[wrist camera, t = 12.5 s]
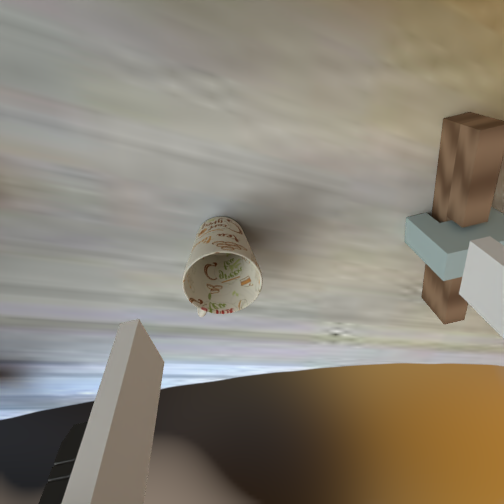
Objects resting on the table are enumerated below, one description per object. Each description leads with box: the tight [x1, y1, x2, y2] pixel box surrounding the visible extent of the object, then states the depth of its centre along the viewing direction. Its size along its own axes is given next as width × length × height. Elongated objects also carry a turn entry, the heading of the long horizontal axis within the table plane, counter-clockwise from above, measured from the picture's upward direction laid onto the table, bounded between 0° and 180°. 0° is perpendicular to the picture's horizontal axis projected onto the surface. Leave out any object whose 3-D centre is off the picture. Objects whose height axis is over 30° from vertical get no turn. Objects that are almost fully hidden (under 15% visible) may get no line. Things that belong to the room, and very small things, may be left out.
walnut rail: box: [422, 112, 504, 324], centre depth 41 cm, size 28×3×6 cm, turn 12°
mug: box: [183, 217, 262, 317], centre depth 38 cm, size 8×13×10 cm, turn 160°
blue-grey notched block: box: [405, 207, 504, 281], centre depth 40 cm, size 4×10×9 cm, turn 102°
